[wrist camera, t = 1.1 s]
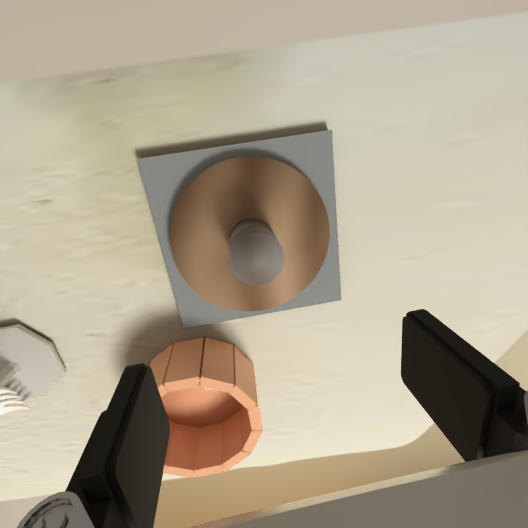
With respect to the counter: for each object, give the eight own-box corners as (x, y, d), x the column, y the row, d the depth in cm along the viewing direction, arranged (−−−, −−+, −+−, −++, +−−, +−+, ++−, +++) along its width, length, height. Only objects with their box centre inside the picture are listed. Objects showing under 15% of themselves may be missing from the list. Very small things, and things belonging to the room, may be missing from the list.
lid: (320, 144, 26) (346, 143, 20) (330, 292, 31) (354, 324, 25) (152, 169, 25) (131, 176, 20) (191, 318, 30) (183, 356, 25)
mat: (327, 130, 27) (331, 129, 26) (337, 295, 32) (341, 300, 31) (140, 158, 26) (136, 158, 25) (184, 323, 31) (183, 328, 31)
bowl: (246, 329, 33) (250, 366, 27) (262, 414, 37) (268, 462, 31) (131, 350, 32) (110, 393, 26) (161, 434, 36) (149, 487, 31)
